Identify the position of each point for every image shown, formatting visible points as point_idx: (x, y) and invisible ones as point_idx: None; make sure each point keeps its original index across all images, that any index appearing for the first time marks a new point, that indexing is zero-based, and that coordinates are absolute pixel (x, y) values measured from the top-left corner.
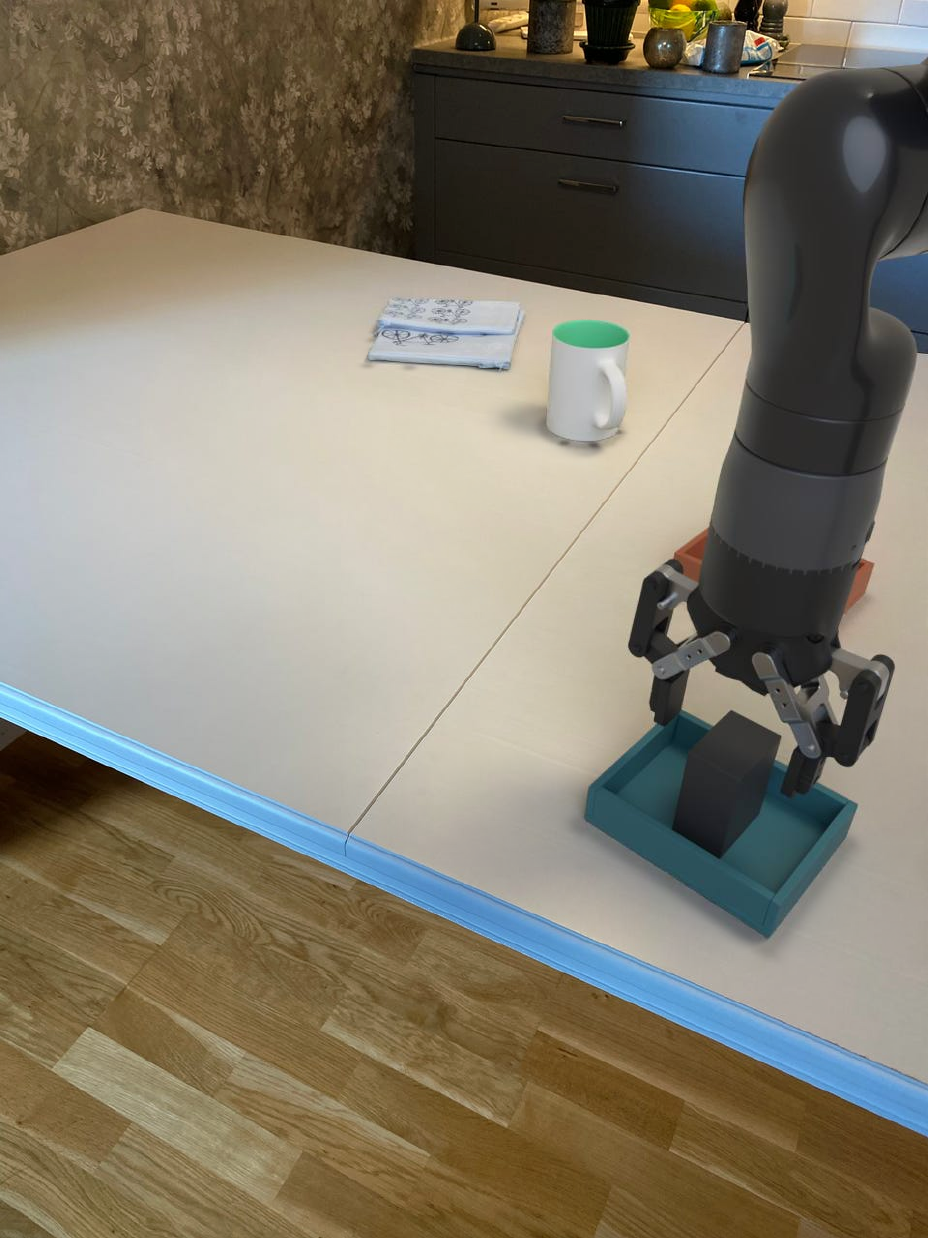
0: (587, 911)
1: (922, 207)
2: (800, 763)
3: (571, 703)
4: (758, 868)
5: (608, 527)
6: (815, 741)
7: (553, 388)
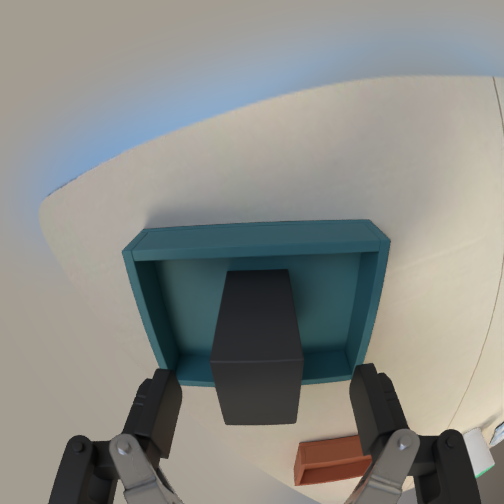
0: (293, 119)
1: None
2: (140, 420)
3: (433, 319)
4: (194, 286)
5: (443, 421)
6: (113, 461)
7: (485, 445)
